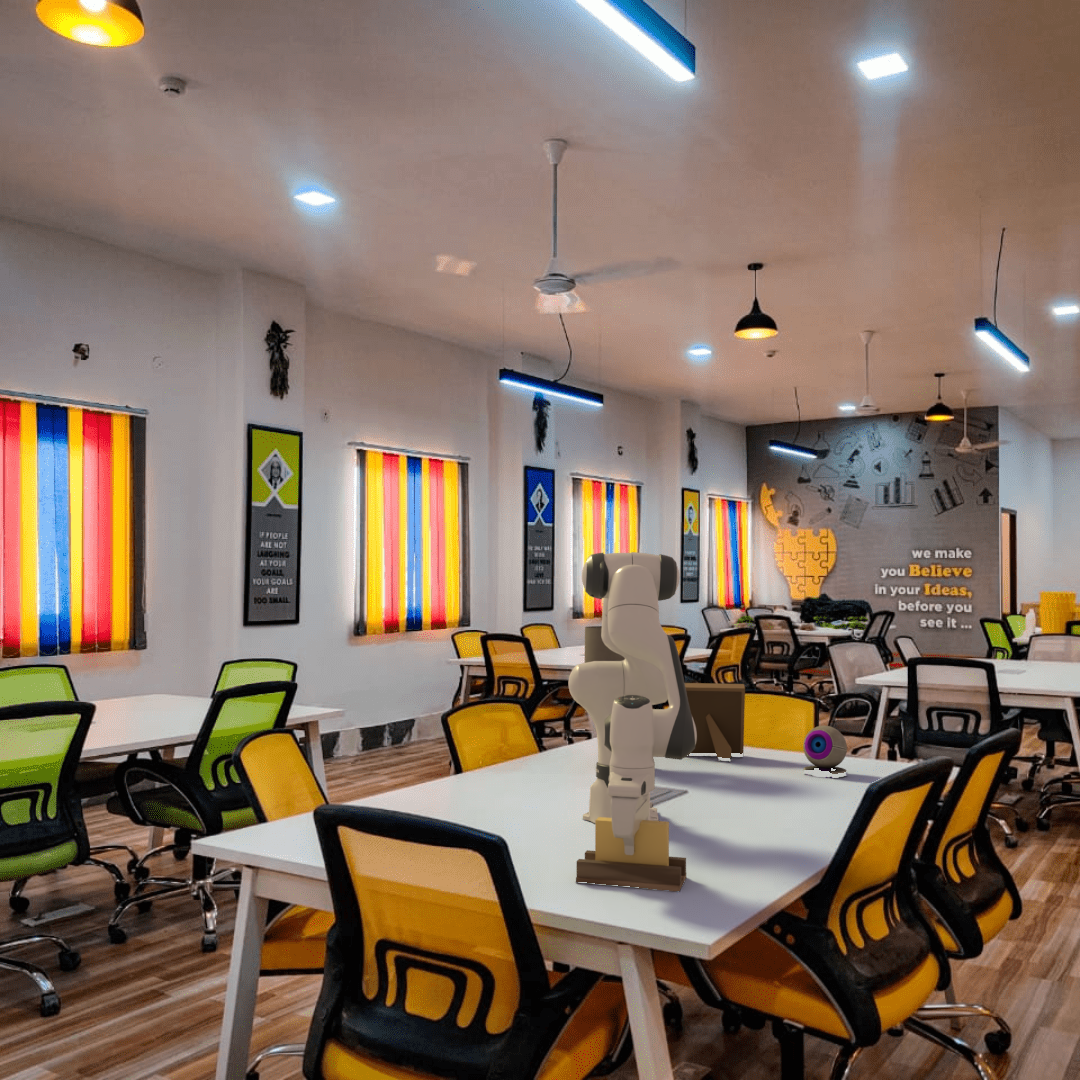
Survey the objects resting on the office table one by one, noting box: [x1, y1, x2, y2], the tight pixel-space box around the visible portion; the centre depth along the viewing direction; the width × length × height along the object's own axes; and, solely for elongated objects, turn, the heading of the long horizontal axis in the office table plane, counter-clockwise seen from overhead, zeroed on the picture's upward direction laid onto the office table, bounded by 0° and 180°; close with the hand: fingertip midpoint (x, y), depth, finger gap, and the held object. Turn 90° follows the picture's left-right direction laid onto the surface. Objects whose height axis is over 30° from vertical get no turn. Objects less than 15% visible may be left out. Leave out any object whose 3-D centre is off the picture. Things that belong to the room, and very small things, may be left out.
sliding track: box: [575, 849, 687, 892], centre depth 204 cm, size 10×20×4 cm, turn 75°
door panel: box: [594, 817, 670, 866], centre depth 204 cm, size 3×14×9 cm, turn 75°
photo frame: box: [684, 682, 746, 759], centre depth 352 cm, size 15×22×25 cm
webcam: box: [803, 725, 848, 774], centre depth 323 cm, size 13×13×15 cm
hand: (631, 851), depth 204 cm, fingers closed on door panel, 3 cm apart
